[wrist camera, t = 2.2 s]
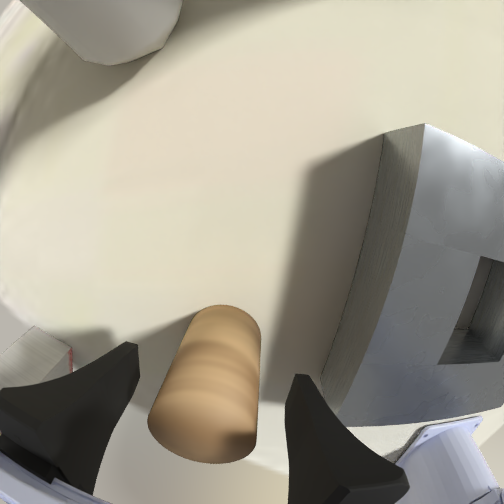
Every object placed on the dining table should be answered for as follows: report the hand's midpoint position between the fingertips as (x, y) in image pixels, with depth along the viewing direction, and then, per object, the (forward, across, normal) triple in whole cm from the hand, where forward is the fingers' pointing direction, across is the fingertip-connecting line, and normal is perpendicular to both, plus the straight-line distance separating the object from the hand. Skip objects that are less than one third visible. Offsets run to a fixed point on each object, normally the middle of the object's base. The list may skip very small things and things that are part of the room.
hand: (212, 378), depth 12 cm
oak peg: (+4, 0, 0) cm, 4 cm away
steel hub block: (+3, -13, -5) cm, 14 cm away
